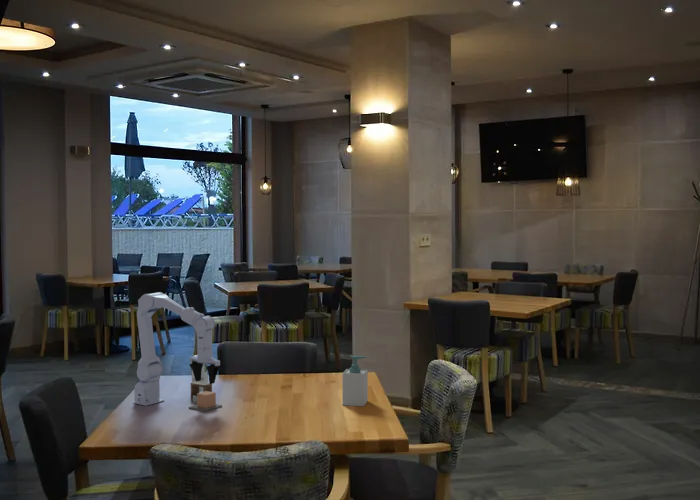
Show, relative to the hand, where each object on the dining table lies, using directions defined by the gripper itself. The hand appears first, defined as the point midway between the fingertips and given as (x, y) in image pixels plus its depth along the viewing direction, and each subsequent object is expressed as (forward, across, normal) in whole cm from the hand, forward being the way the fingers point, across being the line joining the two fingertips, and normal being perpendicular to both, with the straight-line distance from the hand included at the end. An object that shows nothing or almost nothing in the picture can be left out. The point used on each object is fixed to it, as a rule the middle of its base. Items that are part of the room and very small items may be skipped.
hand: (205, 382), depth 281 cm
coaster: (+10, 0, 0) cm, 10 cm away
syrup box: (+10, +25, -21) cm, 34 cm away
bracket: (+10, +10, -8) cm, 16 cm away
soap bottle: (+10, -45, -38) cm, 60 cm away
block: (+9, 0, -1) cm, 9 cm away
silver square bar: (+10, +10, -8) cm, 17 cm away
